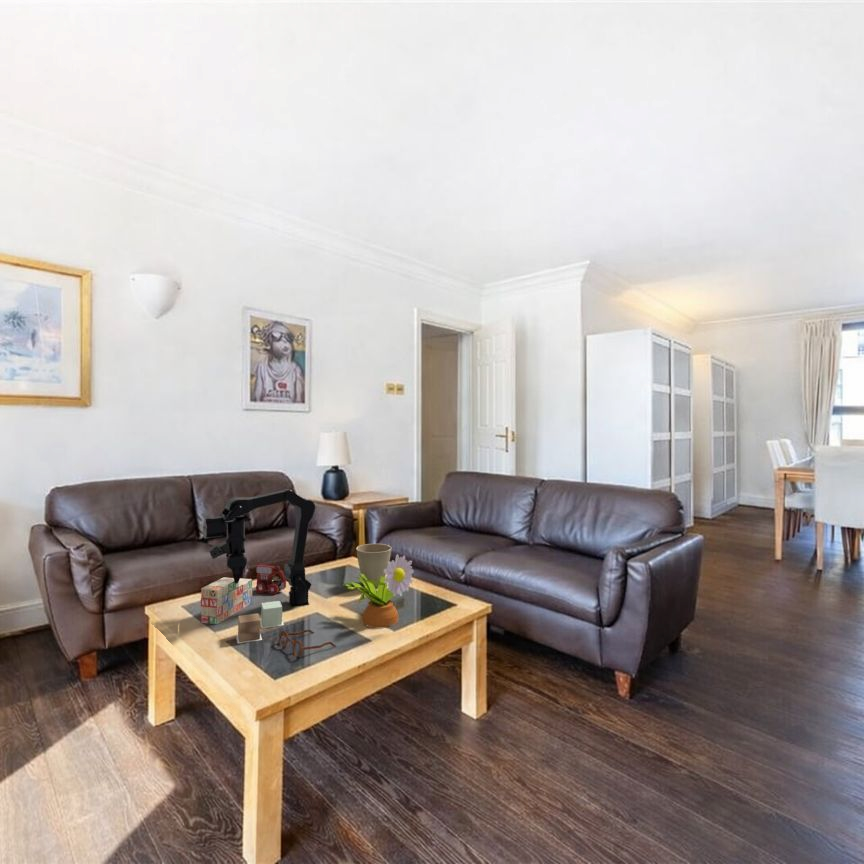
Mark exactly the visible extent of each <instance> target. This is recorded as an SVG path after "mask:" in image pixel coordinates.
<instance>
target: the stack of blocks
mask: <svg viewBox="0 0 864 864" xmlns="http://www.w3.org/2000/svg"><path fill="white" fill-rule="evenodd" d="M200 591H201V594H200V595H201V597H200V623H202V624H211V625H215V626H217V625H218V624H220V623H222V622H223V621H225V620H227V619H228V618H230V617H232V616H233V615H234V614H235V613H237V612H239V611H240V610H242V609H244V608H245V607H247V606H249V605H252V604H253V579H252V578H242V577H240V580H239V582H238V583H235V582H234V578H233V577H225V576H224V577H222V578H219V579H218V580H215V581H213V582H211V583H210V584H208V585H206V586H203V587H201V590H200Z"/></svg>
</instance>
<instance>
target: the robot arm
mask: <svg viewBox="0 0 864 864" xmlns="http://www.w3.org/2000/svg"><path fill="white" fill-rule="evenodd" d="M283 502H287V503H289V504H290V505H291V506H293V508H294V518H295V528H294V536H293V541H292V542H293V543H292V549H291V556H290V560H289V562H288V563H284V566H283V568H284V569H283V575H284V578H285V580H286V583H288V585H289V586H290V589H289V591H288V601H287V602H288V604H289V605H290V606H291V607H292V608H295V607H304V606H310V603H309V590H311V587H312V583H311V582H310V581H309V580H308V579H306V568H305V564H304V558H305V552H306V545H307V538H308V530H309V525H310V522H311V520H312V519H313V517H314V514H315V511H316V504H315V503H314V501H313V500H310V499H307V498H303V497H302V496H301V495H299V494H297V493H295V492H294V491H293V490H291V489H288V488H283V489H282V490H278V491H277V490H276V491H273V492H272V491H271V492H270V493H269V492H268V493H264V494H259V495H256V496H248V497H247V496H239V497H231V498H228V499H227V500H226V503H225V507H224V508H223V510H222V511H221V513H220V514H219V515H218V516H217V517H216V516H215V517H205V518H204V521H203V525H202V535H203V536H202V537H203V538H204V539H212V538H213V539H214V538H219V537H224V535H226V537H225V541H223V542H221V543H217V544H215V545H213V546H210V547H209V548H208V552H209V555H210V556H211V559H212V560H215V559H217V558H218V557H221V556H222V555H225V556H226V567H227V568H229V569H230V570H231V572H232V578H234V582H235V583H238V582H239V580H240V578H242V576H243V573H244V571H245V568H246V566H247V564H248V558H247V555H246V554H245V553H246V548H245V546H246V545H245V544H246V543H245V542H246V536H245V535H246V533H245V532H246V530H245V528H246V527H245V525H246V523H245V522H251V520H252V519H251V517H249V516H248V515H247V514H249V513H251V512H253V510H255V509H259V508H262V507H267V506H271V505H275V504H280V503H283Z"/></svg>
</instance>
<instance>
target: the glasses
mask: <svg viewBox="0 0 864 864" xmlns="http://www.w3.org/2000/svg"><path fill="white" fill-rule="evenodd" d="M308 632H309V633H310V634H314V633H315V632H314V631H313V630H311V629H304V630H301V631H297V632H296V631H295V632H287V631H286V630H283V631H281V632H280V634H279V637H278V644H279V646H281V647H282V648H287V645H288V643H289V642H290V643H292V654H293V655H294V656H295V657H297V659H298V658H301V657H302V654H303V651H304V650H312V649H321V648H322V647H324V646H327V645H331V646H332V647H333V648H337V645H336V644H335V643H333V642H332V641H328V642H327V641H326V642H323V643H322V644H320V645H311V646H303V643H302V641H301V640H299V639H298V640H295V641H294V640H293V639H291V638H289V636H295V635H296V636H297V635H302V634H304V633H308ZM282 637H285V643H284V645H283V644H282ZM297 643H298V644H299V647H300V649H299V654H298V655H297V653H296V644H297Z"/></svg>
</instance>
